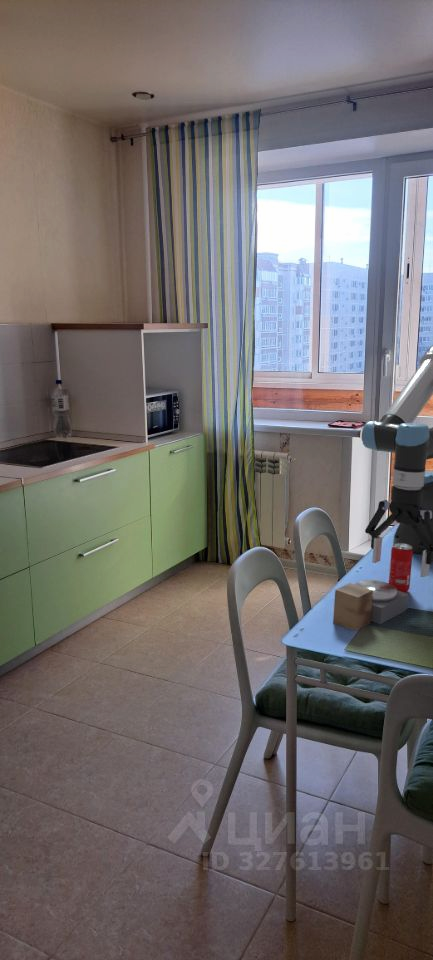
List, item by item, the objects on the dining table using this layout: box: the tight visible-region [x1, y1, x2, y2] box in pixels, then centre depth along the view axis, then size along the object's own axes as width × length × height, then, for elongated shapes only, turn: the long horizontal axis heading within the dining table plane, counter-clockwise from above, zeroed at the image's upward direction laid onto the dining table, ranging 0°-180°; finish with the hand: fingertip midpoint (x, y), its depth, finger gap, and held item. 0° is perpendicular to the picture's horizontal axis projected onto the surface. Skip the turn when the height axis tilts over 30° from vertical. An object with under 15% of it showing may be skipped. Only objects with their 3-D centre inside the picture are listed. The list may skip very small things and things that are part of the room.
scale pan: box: [354, 579, 397, 602], centre depth 165 cm, size 10×10×2 cm
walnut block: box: [332, 582, 373, 632], centre depth 158 cm, size 6×6×8 cm
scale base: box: [370, 590, 409, 625], centre depth 166 cm, size 12×11×4 cm
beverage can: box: [388, 543, 413, 594], centre depth 177 cm, size 5×5×12 cm
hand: (399, 568), depth 177 cm, fingers open, 13 cm apart
